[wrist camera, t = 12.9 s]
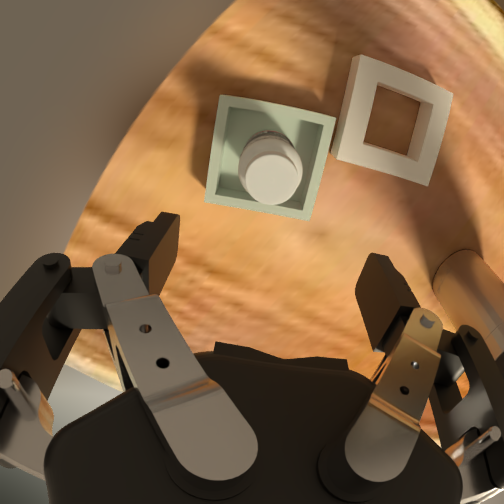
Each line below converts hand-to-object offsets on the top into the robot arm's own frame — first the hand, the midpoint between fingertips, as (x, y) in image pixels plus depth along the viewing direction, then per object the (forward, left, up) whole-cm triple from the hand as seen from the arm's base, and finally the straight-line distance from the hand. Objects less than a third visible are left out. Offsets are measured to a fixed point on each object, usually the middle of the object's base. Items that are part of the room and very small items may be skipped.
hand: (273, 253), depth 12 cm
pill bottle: (0, 0, -21) cm, 21 cm away
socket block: (-12, -7, -21) cm, 25 cm away
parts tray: (0, 0, -21) cm, 21 cm away
